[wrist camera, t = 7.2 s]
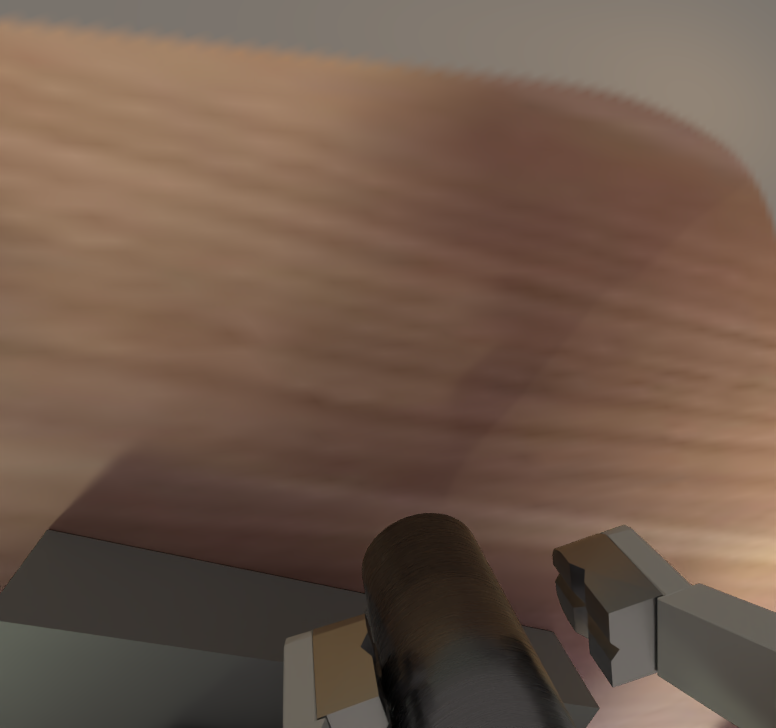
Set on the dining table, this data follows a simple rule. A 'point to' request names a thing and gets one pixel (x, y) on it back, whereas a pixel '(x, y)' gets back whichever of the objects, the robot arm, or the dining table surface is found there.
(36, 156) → the dining table surface
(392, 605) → the slider
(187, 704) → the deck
